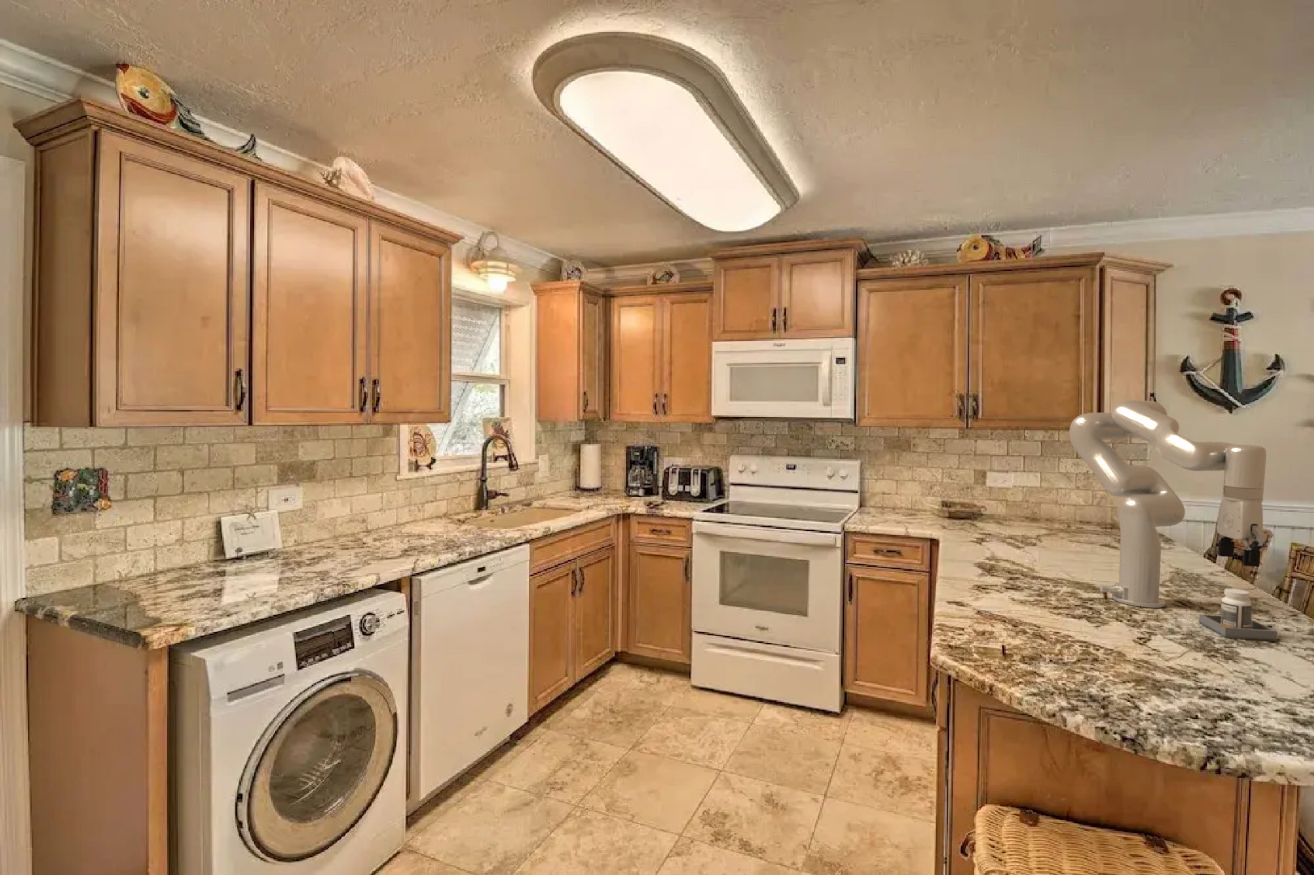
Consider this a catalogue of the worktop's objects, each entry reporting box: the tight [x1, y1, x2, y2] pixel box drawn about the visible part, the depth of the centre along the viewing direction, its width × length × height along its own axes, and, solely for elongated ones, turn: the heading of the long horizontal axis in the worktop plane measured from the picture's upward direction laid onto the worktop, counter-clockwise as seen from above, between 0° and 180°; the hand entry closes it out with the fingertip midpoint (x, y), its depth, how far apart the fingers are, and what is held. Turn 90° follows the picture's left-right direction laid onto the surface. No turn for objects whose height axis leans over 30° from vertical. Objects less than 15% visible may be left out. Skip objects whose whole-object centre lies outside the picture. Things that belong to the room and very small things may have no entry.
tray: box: [1198, 613, 1278, 642], centre depth 163 cm, size 11×11×2 cm
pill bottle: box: [1220, 588, 1253, 629], centre depth 163 cm, size 6×6×10 cm
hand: (1237, 561), depth 163 cm, fingers open, 9 cm apart
